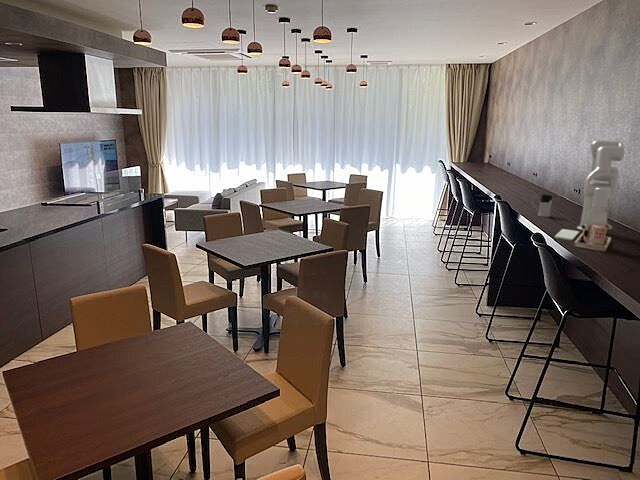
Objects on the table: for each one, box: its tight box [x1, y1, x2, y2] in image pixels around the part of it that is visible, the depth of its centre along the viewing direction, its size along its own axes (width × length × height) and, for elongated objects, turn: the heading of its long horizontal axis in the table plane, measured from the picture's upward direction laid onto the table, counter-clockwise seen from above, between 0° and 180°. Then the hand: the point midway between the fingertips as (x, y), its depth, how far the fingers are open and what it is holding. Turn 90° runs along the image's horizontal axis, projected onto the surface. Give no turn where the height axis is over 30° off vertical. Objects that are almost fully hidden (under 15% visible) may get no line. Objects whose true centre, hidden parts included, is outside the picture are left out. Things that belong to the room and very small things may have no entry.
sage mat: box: [554, 228, 580, 241], centre depth 315 cm, size 26×10×1 cm, turn 145°
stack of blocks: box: [581, 224, 608, 246], centre depth 295 cm, size 21×6×12 cm, turn 168°
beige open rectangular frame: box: [573, 232, 612, 252], centre depth 296 cm, size 29×16×2 cm, turn 145°
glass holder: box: [531, 194, 553, 218], centre depth 375 cm, size 9×14×15 cm, turn 57°
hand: (593, 237), depth 295 cm, fingers closed on stack of blocks, 8 cm apart
